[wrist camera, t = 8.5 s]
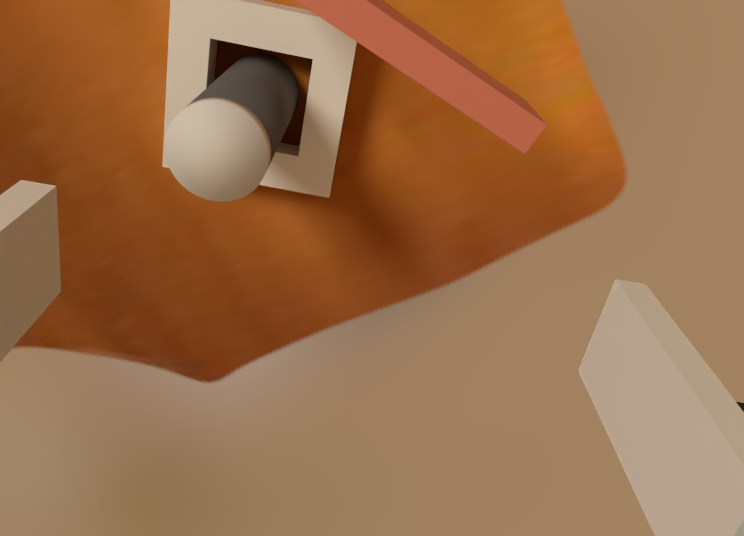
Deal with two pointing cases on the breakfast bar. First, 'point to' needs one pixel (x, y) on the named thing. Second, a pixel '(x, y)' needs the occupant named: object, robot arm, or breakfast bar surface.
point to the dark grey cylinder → (232, 129)
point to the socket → (275, 33)
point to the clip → (434, 67)
